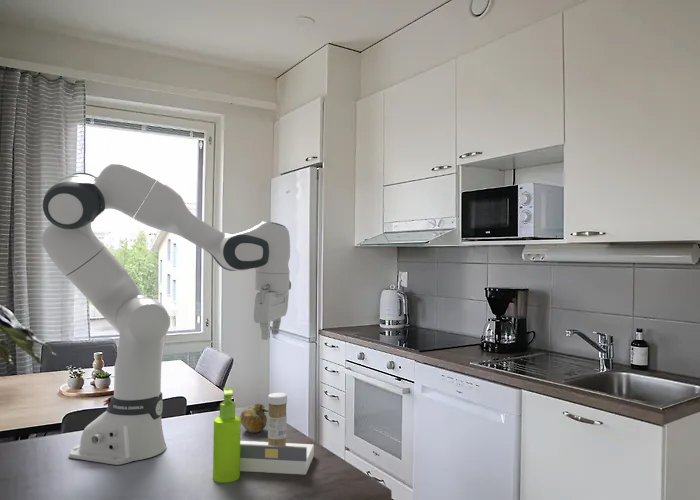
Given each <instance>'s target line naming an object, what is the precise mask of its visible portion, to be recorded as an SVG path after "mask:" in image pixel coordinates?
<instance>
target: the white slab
mask: <svg viewBox="0 0 700 500" xmlns="http://www.w3.org/2000/svg"><path fill="white" fill-rule="evenodd" d="M314 448H315V445H314V444H313V443H312V444H311V443H291V442H286V446H276V445H268V441H254V440H252V441H251V440H240V472H252V473H253V472H255V473H272V474H286V475H287V474H288V475H307V472H308V470H309V468H310V466H311V465H312V464H311V463H312V461H313V459H314V454H315V449H314Z"/></svg>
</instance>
